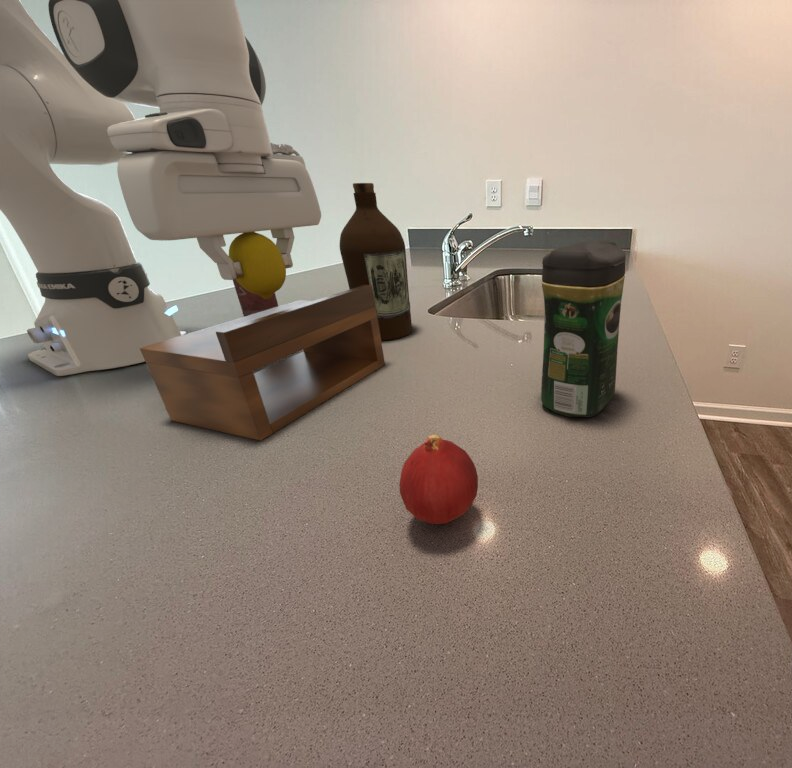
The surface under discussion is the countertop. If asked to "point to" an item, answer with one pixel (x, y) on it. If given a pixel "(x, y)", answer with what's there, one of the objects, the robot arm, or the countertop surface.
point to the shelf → (262, 345)
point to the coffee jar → (581, 326)
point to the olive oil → (377, 262)
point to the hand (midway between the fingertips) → (259, 273)
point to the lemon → (258, 263)
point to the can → (253, 301)
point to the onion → (438, 481)
